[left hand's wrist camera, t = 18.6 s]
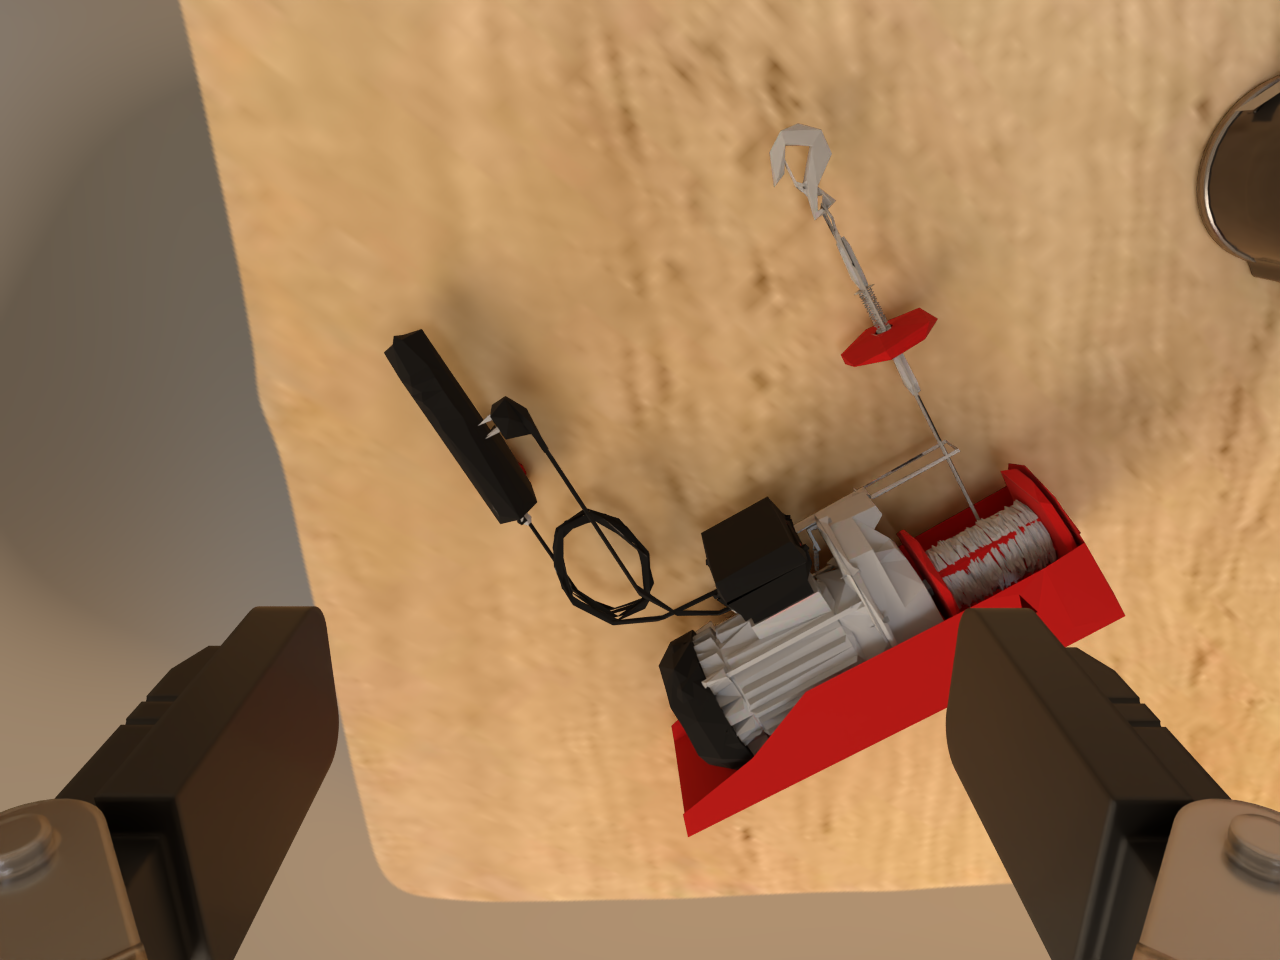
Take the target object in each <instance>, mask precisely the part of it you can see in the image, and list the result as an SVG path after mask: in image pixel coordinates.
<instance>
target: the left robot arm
mask: <svg viewBox="0 0 1280 960" xmlns="http://www.w3.org/2000/svg"><path fill="white" fill-rule="evenodd" d="M1197 201H1198V208H1199V212H1200V215H1201V218H1202V221H1203V223H1204V225H1205V227H1206V229H1207V231H1208V232H1209V234H1210V235H1211V237H1212V238H1213V239H1214V240H1215V242H1216V243H1217V244H1218V245H1219V246H1221V247H1222V248H1223V249H1224V250H1226V251H1227V252H1228V253H1230V254H1232V255H1234V256H1236V257H1238V258H1241V259H1243V260H1247V262H1248V264H1249V266H1250V269H1251V273H1252V275H1253V276H1254V277H1258V278H1262V279H1267V280H1272V281H1277V282H1280V75H1279V76H1276V77H1274V78H1272V79H1270V80H1268V81H1266V82H1264V83H1262V84H1261V85H1259V86H1257V87H1256V88H1254V89H1253V90H1251V91H1250V92H1249V93H1247V94H1246V95H1245V96H1244V97H1242V98H1241V99H1240V100H1239V101H1238V102H1237V103H1236V104H1235V105H1234V106H1233V107H1232V108H1231V109H1230V110H1229V111H1228V112H1227V114H1226V115H1225V116H1224V117H1223V119H1222V120H1221V121H1220V123H1219V124H1218V126H1217V127H1216V129H1215V130H1214V132H1213V134H1212V136H1211V137H1210V139H1209V141H1208V144H1207V146H1206V148H1205V150H1204V153H1203V156H1202V159H1201V163H1200V167H1199V171H1198V178H1197ZM338 730H339V715H338V706H337V699H336V692H335V685H334V677H333V670H332V663H331V656H330V648H329V641H328V634H327V627H326V622H325V618H324V615H323V613H322V611H321V610H320V609H319V608H318V607H315V606H311V607H309V606H305V607H304V606H303V607H299V606H298V607H296V606H295V607H294V606H292V607H289V606H287V607H286V606H285V607H283V606H281V607H280V606H279V607H276V606H272V607H271V606H270V607H269V606H264V607H262V606H261V607H260V606H259V607H255V608H253V609H252V610H251V611H250V612H249V613H248V614H247V615H246V616H245V618H244V619H243V620H242V621H241V622H240V624H239V625H238V626H237V627H236V628H235V630H234V631H233V632H232V633H231V634H230V635H229V637H228V638H227V639H226V640H225V641H224V643H223V644H222V645H221V646H208V647H206V648H204V649H203V650H201V651H200V652H198V653H196V654H195V655H193V656H191V657H190V658H188V659H187V660H185V661H183V662H182V663H180V664H178V665H177V666H175V667H174V668H172V669H171V670H170V671H169V672H168V673H167V674H166V675H165V676H164V677H163V678H162V680H161V681H160V682H159V683H158V684H157V685H156V686H155V687H154V688H153V690H152V691H151V692H150V693H149V694H148V695H147V700H146V702H141V703H140V704H139V705H138V706H137V707H136V709H135V710H134V711H133V712H132V713H131V714H130V715H129V716H128V717H127V719H126V724H125V725H120V726H119V727H118V729H117V730H116V731H115V732H114V733H113V734H112V735H111V736H110V737H109V739H108V740H107V741H106V742H105V743H104V744H103V745H102V746H101V747H100V749H99V750H98V751H97V752H96V753H95V754H94V755H93V756H92V758H91V759H90V760H89V761H88V762H87V763H86V764H85V765H84V766H83V768H82V769H81V770H80V771H79V772H78V773H77V774H76V775H75V776H74V778H73V779H72V780H71V781H70V782H69V783H68V784H67V785H66V786H65V788H64V789H63V790H62V791H61V792H60V793H59V794H58V795H57V796H56V798H55V799H50V800H42V801H37V802H33V803H28V804H24V805H20V806H17V807H14V808H11V809H8V810H5V811H3V812H0V960H234V958H235V956H236V954H237V952H238V950H239V948H240V946H241V944H242V942H243V940H244V938H245V936H246V934H247V932H248V930H249V928H250V926H251V924H252V922H253V919H254V918H255V916H256V914H257V912H258V910H259V908H260V906H261V904H262V902H263V900H264V898H265V896H266V894H267V892H268V890H269V888H270V886H271V884H272V882H273V880H274V878H275V876H276V874H277V872H278V870H279V867H280V866H281V864H282V862H283V860H284V858H285V856H286V854H287V852H288V850H289V848H290V846H291V844H292V842H293V840H294V838H295V836H296V834H297V832H298V830H299V828H300V826H301V824H302V822H303V820H304V818H305V816H306V814H307V812H308V810H309V808H310V806H311V804H312V802H313V800H314V798H315V796H316V794H317V792H318V790H319V788H320V786H321V784H322V782H323V780H324V778H325V776H326V774H327V772H328V770H329V768H330V766H331V763H332V761H333V758H334V755H335V751H336V746H337V740H338ZM946 737H947V744H948V749H949V754H950V758H951V761H952V764H953V766H954V768H955V770H956V772H957V774H958V776H959V778H960V780H961V782H962V784H963V786H964V788H965V790H966V792H967V794H968V796H969V798H970V800H971V802H972V804H973V806H974V808H975V810H976V812H977V814H978V815H979V817H980V819H981V821H982V823H983V825H984V827H985V829H986V831H987V833H988V835H989V837H990V839H991V841H992V843H993V845H994V847H995V849H996V851H997V853H998V855H999V857H1000V859H1001V861H1002V863H1003V865H1004V867H1005V869H1006V871H1007V873H1008V875H1009V877H1010V879H1011V881H1012V883H1013V885H1014V887H1015V888H1016V890H1017V892H1018V894H1019V896H1020V898H1021V900H1022V902H1023V904H1024V906H1025V908H1026V910H1027V912H1028V914H1029V916H1030V918H1031V920H1032V922H1033V924H1034V926H1035V928H1036V930H1037V932H1038V934H1039V936H1040V938H1041V940H1042V942H1043V944H1044V946H1045V948H1046V950H1047V952H1048V954H1049V956H1050V958H1051V960H1280V812H1277V811H1275V810H1272V809H1269V808H1266V807H1263V806H1260V805H1256V804H1252V803H1248V802H1243V801H1238V800H1232V799H1231V798H1230V797H1229V796H1228V795H1227V794H1226V793H1225V792H1224V791H1223V790H1222V788H1221V787H1220V786H1219V785H1218V784H1217V783H1216V782H1215V781H1214V780H1213V778H1212V777H1211V776H1210V775H1209V774H1208V773H1207V772H1206V771H1205V770H1204V769H1203V767H1202V766H1201V765H1200V764H1199V763H1198V762H1197V761H1196V760H1195V759H1194V758H1193V756H1192V755H1191V754H1190V753H1189V752H1188V751H1187V750H1186V749H1185V748H1184V746H1183V745H1182V744H1181V743H1180V742H1179V741H1178V740H1177V739H1176V738H1175V737H1174V735H1173V734H1172V733H1171V732H1170V731H1169V730H1168V729H1167V728H1166V727H1161V725H1160V720H1159V719H1158V718H1157V717H1156V716H1155V715H1154V713H1153V712H1152V711H1151V710H1150V709H1149V708H1148V707H1147V706H1146V705H1145V704H1140V698H1139V697H1138V696H1137V695H1136V694H1135V692H1134V691H1133V690H1132V689H1131V688H1130V687H1129V686H1128V685H1127V684H1126V683H1125V681H1124V680H1123V679H1122V678H1121V677H1120V676H1119V675H1118V674H1117V673H1116V671H1114V670H1113V669H1111V668H1109V667H1108V666H1106V665H1105V664H1103V663H1101V662H1100V661H1098V660H1096V659H1095V658H1093V657H1091V656H1090V655H1088V654H1087V653H1085V652H1083V651H1082V650H1080V649H1078V648H1077V647H1064V646H1063V645H1062V643H1061V642H1060V641H1059V640H1058V639H1057V637H1056V636H1055V635H1054V634H1053V633H1052V632H1051V630H1050V629H1049V628H1048V627H1047V626H1046V625H1045V623H1044V622H1043V621H1042V620H1041V619H1040V617H1039V616H1038V615H1037V614H1036V613H1035V612H1034V611H1033V610H1032V609H1030V608H968V609H966V610H965V611H964V613H963V614H962V616H961V619H960V622H959V627H958V634H957V641H956V648H955V655H954V662H953V670H952V677H951V684H950V691H949V698H948V705H947V713H946Z"/></svg>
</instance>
